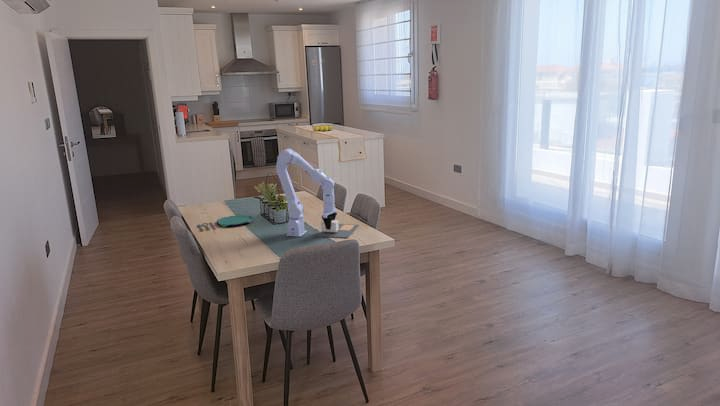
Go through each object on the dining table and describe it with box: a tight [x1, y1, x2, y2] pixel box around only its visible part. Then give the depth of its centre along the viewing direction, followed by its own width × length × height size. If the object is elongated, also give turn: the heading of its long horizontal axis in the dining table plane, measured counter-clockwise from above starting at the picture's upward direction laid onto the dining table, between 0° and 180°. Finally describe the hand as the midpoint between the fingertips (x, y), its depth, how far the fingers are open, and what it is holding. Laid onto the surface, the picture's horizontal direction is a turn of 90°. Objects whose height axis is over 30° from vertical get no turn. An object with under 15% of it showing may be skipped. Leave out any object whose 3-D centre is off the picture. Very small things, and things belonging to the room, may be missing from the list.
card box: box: [320, 219, 340, 232], centre depth 255 cm, size 4×8×5 cm, turn 75°
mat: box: [316, 223, 360, 239], centre depth 260 cm, size 22×16×1 cm
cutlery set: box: [197, 214, 253, 232], centre depth 278 cm, size 20×30×2 cm, turn 116°
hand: (329, 227), depth 255 cm, fingers closed on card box, 4 cm apart
